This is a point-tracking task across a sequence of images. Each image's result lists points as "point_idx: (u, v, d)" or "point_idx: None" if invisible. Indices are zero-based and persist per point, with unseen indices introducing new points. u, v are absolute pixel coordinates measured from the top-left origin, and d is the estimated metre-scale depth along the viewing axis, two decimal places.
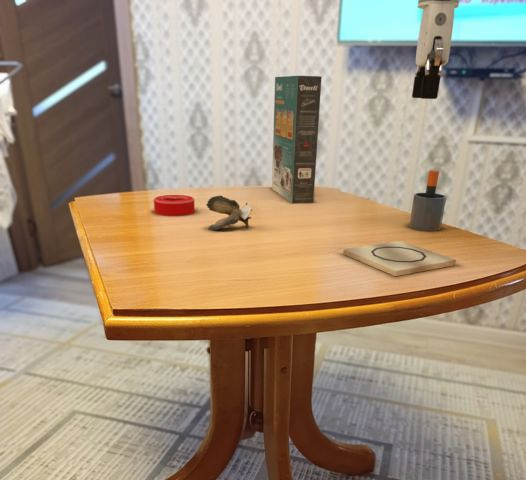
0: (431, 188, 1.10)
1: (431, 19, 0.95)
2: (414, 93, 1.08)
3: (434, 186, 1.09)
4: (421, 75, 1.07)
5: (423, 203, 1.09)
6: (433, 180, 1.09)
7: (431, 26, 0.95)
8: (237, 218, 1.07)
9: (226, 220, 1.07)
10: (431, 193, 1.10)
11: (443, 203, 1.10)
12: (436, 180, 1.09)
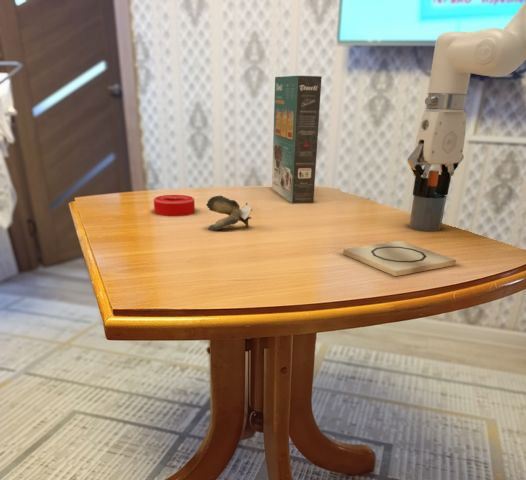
0: (431, 188, 1.10)
1: (420, 124, 1.04)
2: (436, 189, 1.13)
3: (434, 186, 1.09)
4: (442, 173, 1.11)
5: (423, 203, 1.09)
6: (433, 180, 1.09)
7: (419, 130, 1.04)
8: (237, 218, 1.07)
9: (226, 220, 1.07)
10: (431, 193, 1.10)
11: (443, 203, 1.10)
12: (436, 180, 1.09)
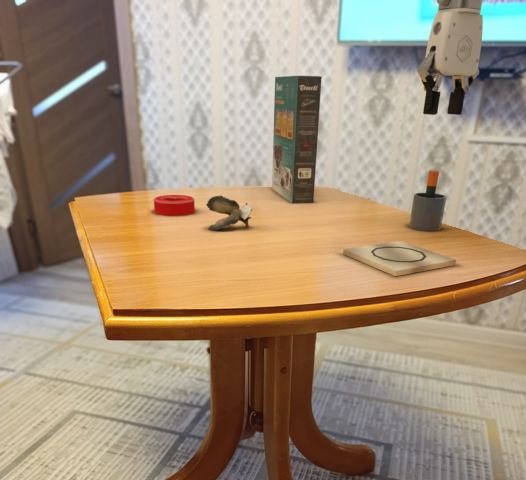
0: (431, 188, 1.10)
1: (431, 29, 0.93)
2: (448, 109, 1.02)
3: (434, 186, 1.09)
4: (455, 90, 1.00)
5: (423, 203, 1.09)
6: (433, 180, 1.09)
7: (430, 36, 0.94)
8: (237, 218, 1.07)
9: (226, 220, 1.07)
10: (431, 193, 1.10)
11: (443, 203, 1.10)
12: (436, 180, 1.09)
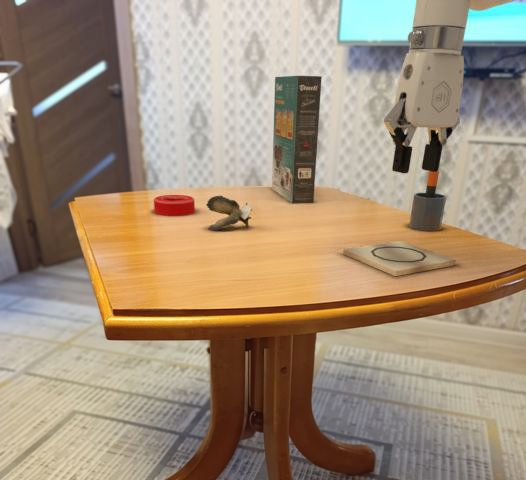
0: (431, 188, 1.10)
1: (401, 72, 0.76)
2: (423, 164, 0.85)
3: (434, 186, 1.09)
4: (431, 143, 0.83)
5: (423, 203, 1.09)
6: (433, 180, 1.09)
7: (399, 80, 0.77)
8: (237, 218, 1.07)
9: (226, 220, 1.07)
10: (431, 193, 1.10)
11: (443, 203, 1.10)
12: (436, 180, 1.09)
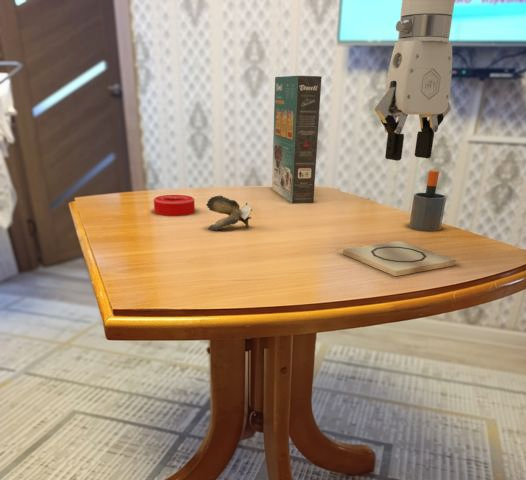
0: (431, 188, 1.10)
1: (391, 61, 0.78)
2: (416, 151, 0.87)
3: (434, 186, 1.09)
4: (423, 130, 0.85)
5: (423, 203, 1.09)
6: (433, 180, 1.09)
7: (389, 69, 0.78)
8: (237, 218, 1.07)
9: (226, 220, 1.07)
10: (431, 193, 1.10)
11: (443, 203, 1.10)
12: (436, 180, 1.09)
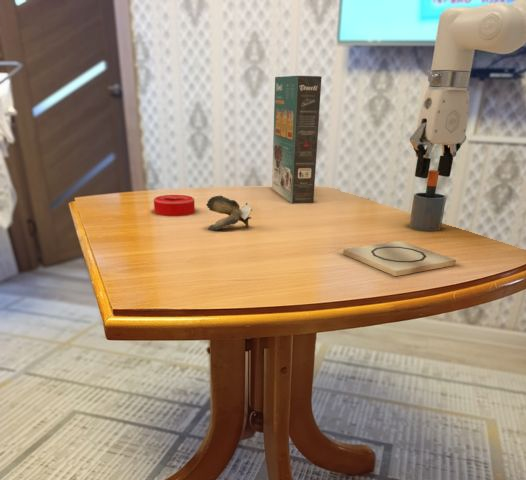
0: (431, 188, 1.10)
1: (422, 103, 1.02)
2: None
3: (434, 186, 1.09)
4: (444, 154, 1.09)
5: (423, 203, 1.09)
6: (433, 180, 1.09)
7: (421, 109, 1.02)
8: (237, 218, 1.07)
9: (226, 220, 1.07)
10: (431, 193, 1.10)
11: (443, 203, 1.10)
12: (436, 180, 1.09)
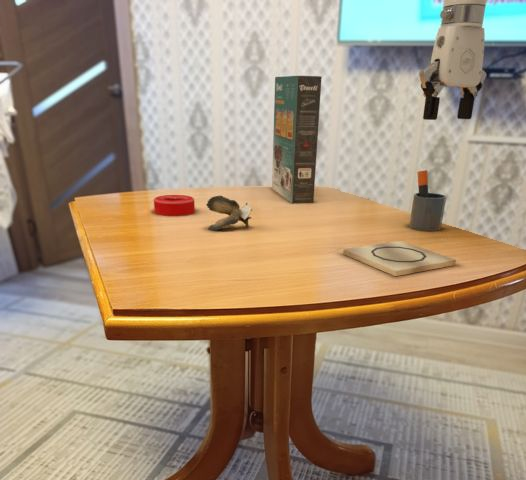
0: (423, 187, 1.11)
1: (435, 43, 0.97)
2: (458, 114, 1.06)
3: (425, 184, 1.11)
4: (465, 96, 1.03)
5: (423, 203, 1.09)
6: (423, 179, 1.11)
7: (433, 49, 0.97)
8: (237, 218, 1.07)
9: (226, 220, 1.07)
10: (424, 192, 1.12)
11: (443, 203, 1.10)
12: (426, 179, 1.11)
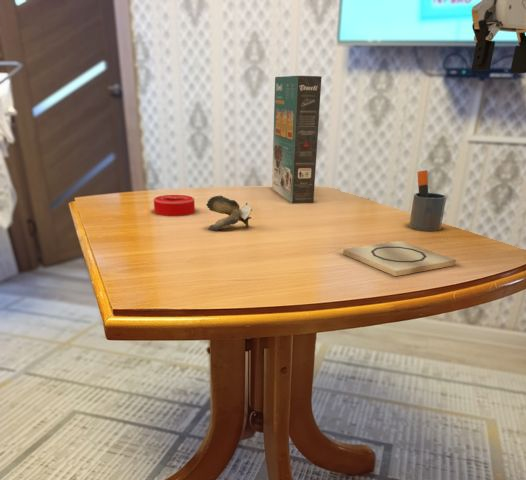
0: (423, 187, 1.11)
1: None
2: (512, 67, 0.87)
3: (425, 184, 1.11)
4: (522, 43, 0.85)
5: (423, 203, 1.09)
6: (423, 179, 1.11)
7: None
8: (237, 218, 1.07)
9: (226, 220, 1.07)
10: (424, 192, 1.12)
11: (443, 203, 1.10)
12: (426, 179, 1.11)
